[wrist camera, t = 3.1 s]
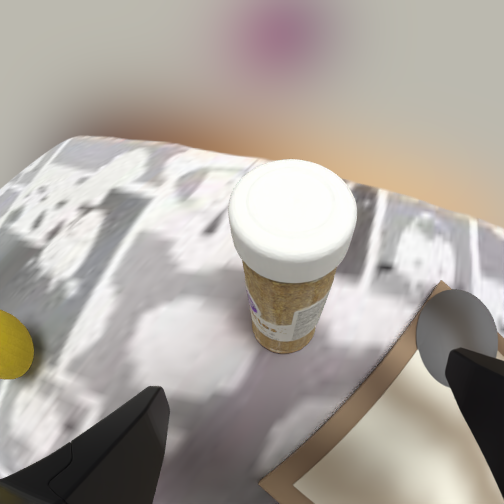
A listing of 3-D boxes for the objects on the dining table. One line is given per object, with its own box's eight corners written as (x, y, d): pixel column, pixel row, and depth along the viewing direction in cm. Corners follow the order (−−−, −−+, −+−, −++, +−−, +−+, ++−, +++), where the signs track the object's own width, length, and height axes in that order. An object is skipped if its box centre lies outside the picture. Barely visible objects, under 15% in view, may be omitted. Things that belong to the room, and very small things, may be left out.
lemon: (3, 363, 21) (-57, 333, 14) (28, 319, 23) (-28, 279, 16) (32, 400, 19) (-36, 378, 12) (60, 351, 21) (-4, 316, 15)
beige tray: (442, 600, 7) (447, 605, 6) (258, 481, 16) (258, 484, 15) (570, 411, 13) (578, 409, 12) (441, 277, 23) (447, 270, 22)
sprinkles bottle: (240, 318, 22) (201, 190, 11) (290, 284, 23) (300, 139, 12) (278, 368, 20) (281, 284, 9) (329, 330, 21) (385, 209, 10)
